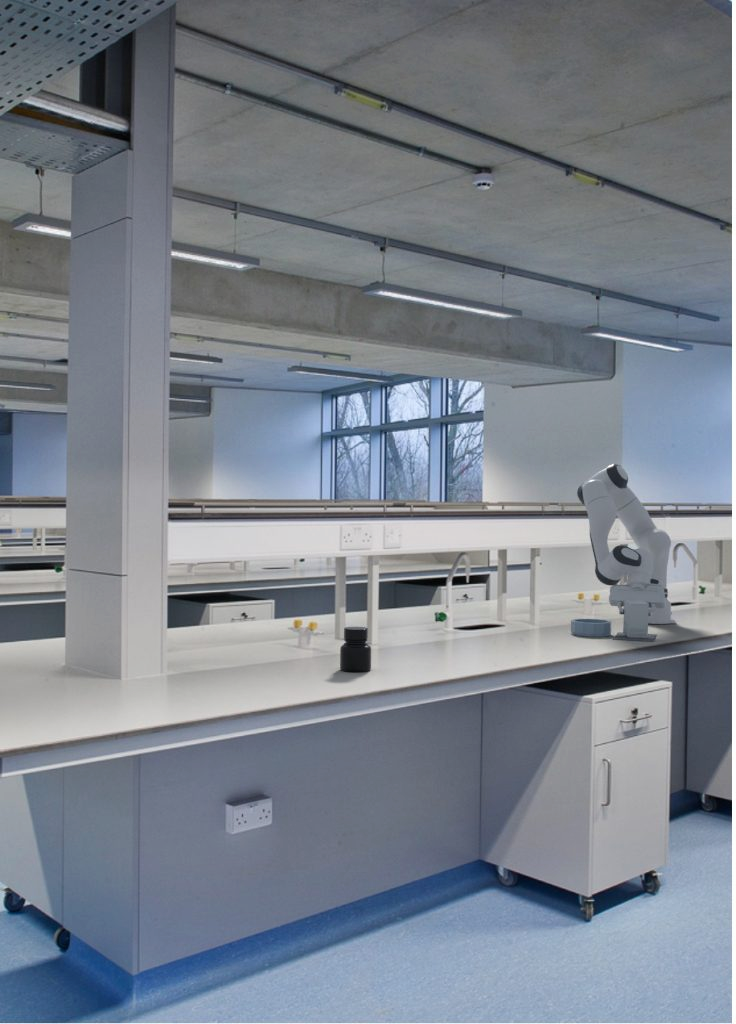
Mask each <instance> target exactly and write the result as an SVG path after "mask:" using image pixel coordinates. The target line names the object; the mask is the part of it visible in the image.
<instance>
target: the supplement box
mask: <svg viewBox="0 0 736 1024" xmlns="http://www.w3.org/2000/svg"><path fill="white" fill-rule="evenodd" d="M623 608H624V615H623V622H622V623H623V628H622V632H623V633H624V634H625V635H626V636H627V637H631V638H647V637H648V634H649V623H648V612H649V604H648V603H647V602H645V601H642V600H624V606H623Z"/></svg>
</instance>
